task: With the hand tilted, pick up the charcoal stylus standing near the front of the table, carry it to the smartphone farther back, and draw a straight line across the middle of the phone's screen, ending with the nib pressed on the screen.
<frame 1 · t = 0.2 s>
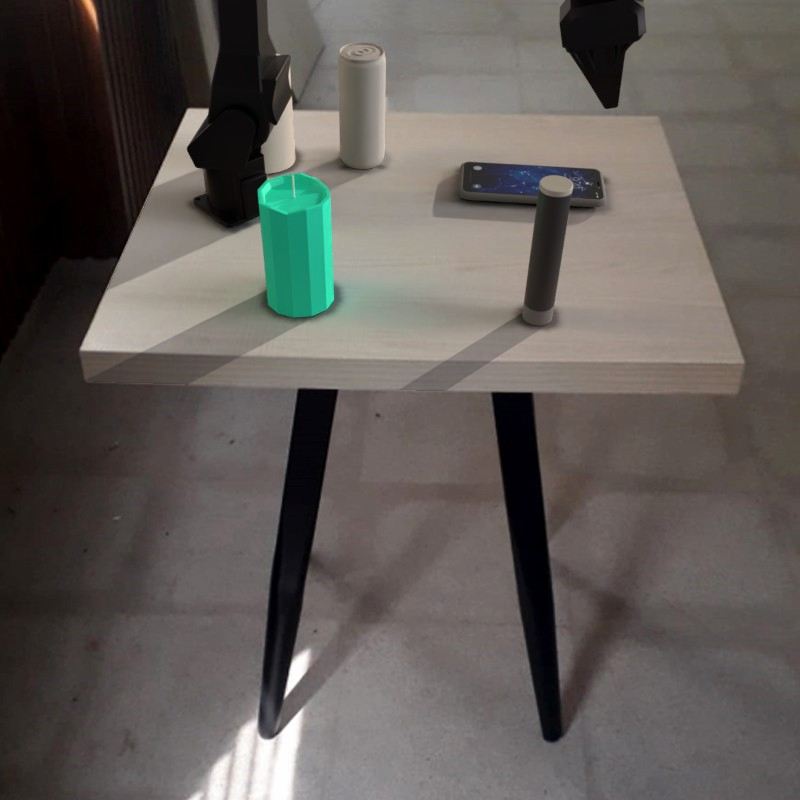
hand: (609, 84, 82), 15 cm above the table, tool pointing down, fingers open, 9 cm apart
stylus: (537, 316, 83), on the table
beverage can: (362, 162, 103), on the table
candle 2: (266, 160, 103), on the table
smartphone: (530, 189, 99), on the table
candle: (300, 299, 85), on the table
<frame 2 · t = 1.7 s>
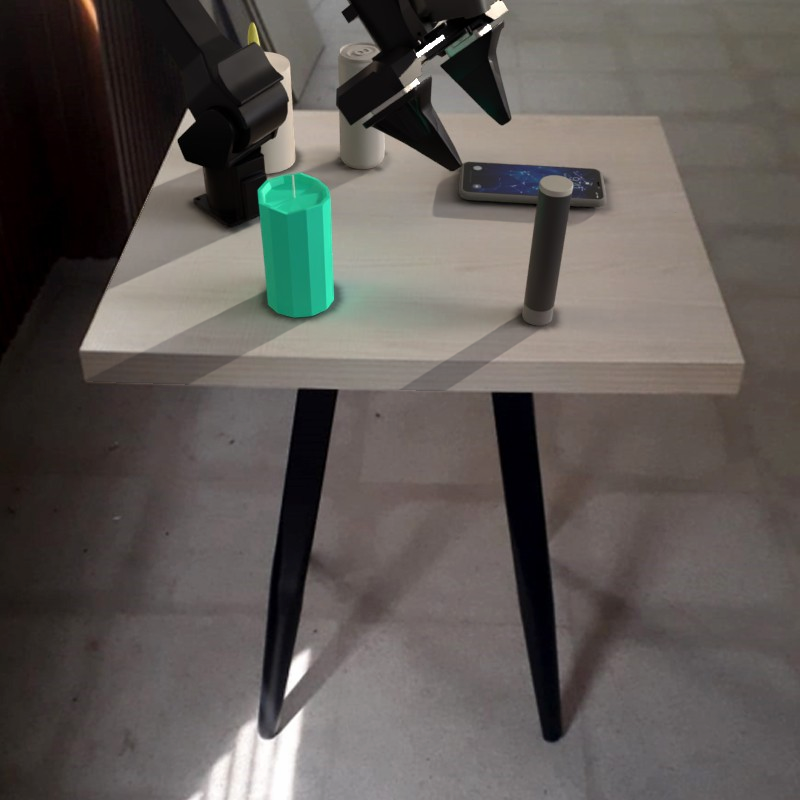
hand: (483, 145, 77), 14 cm above the table, tool tilted 40°, fingers open, 9 cm apart
nothing on the table moved.
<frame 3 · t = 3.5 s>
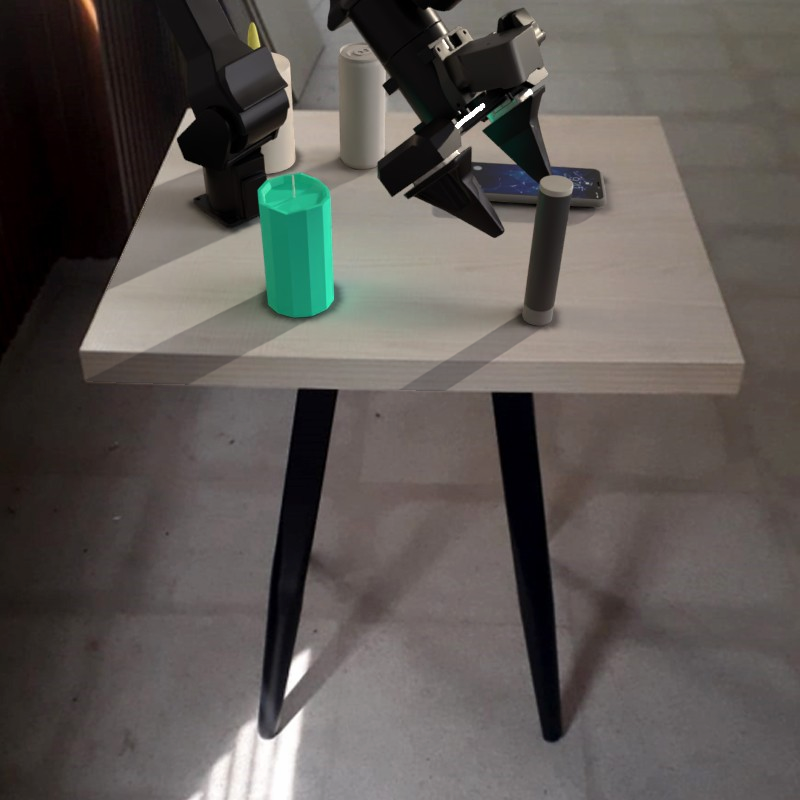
hand: (526, 209, 77), 10 cm above the table, tool tilted 45°, fingers open, 9 cm apart
nothing on the table moved.
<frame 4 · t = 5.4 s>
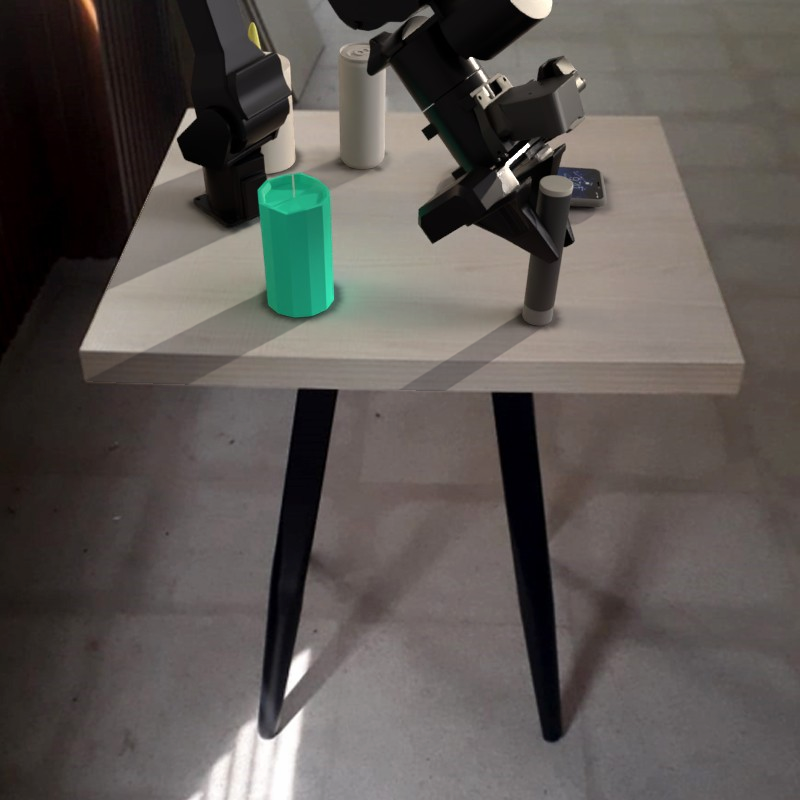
hand: (562, 253, 78), 7 cm above the table, tool tilted 45°, fingers closed on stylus, 2 cm apart
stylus: (537, 316, 83), on the table, touching gripper
everything else where it was.
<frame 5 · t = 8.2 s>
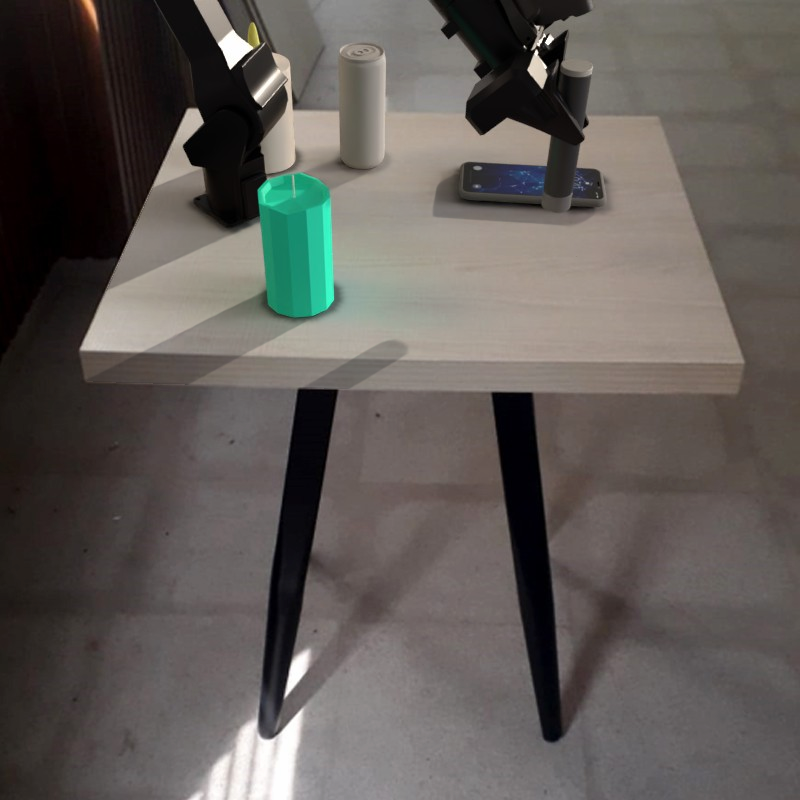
hand: (582, 134, 81), 13 cm above the table, tool tilted 45°, fingers closed on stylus, 2 cm apart
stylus: (555, 205, 86), point 6 cm above the table, touching gripper
everything else where it was.
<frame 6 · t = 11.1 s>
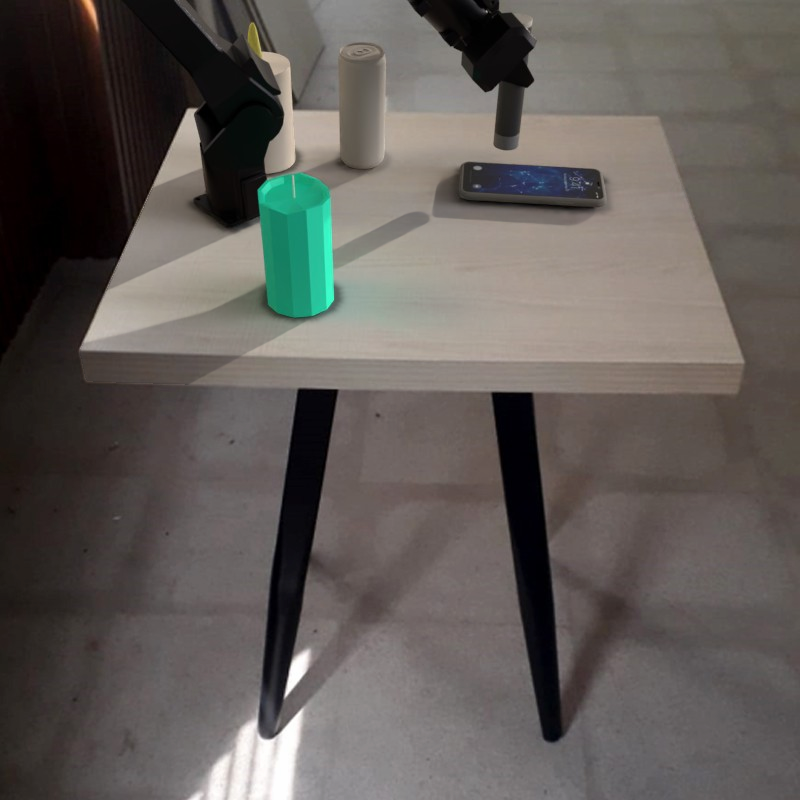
hand: (525, 77, 95), 11 cm above the table, tool tilted 45°, fingers closed on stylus, 2 cm apart
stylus: (505, 144, 99), point 3 cm above the table, touching gripper
everything else where it was.
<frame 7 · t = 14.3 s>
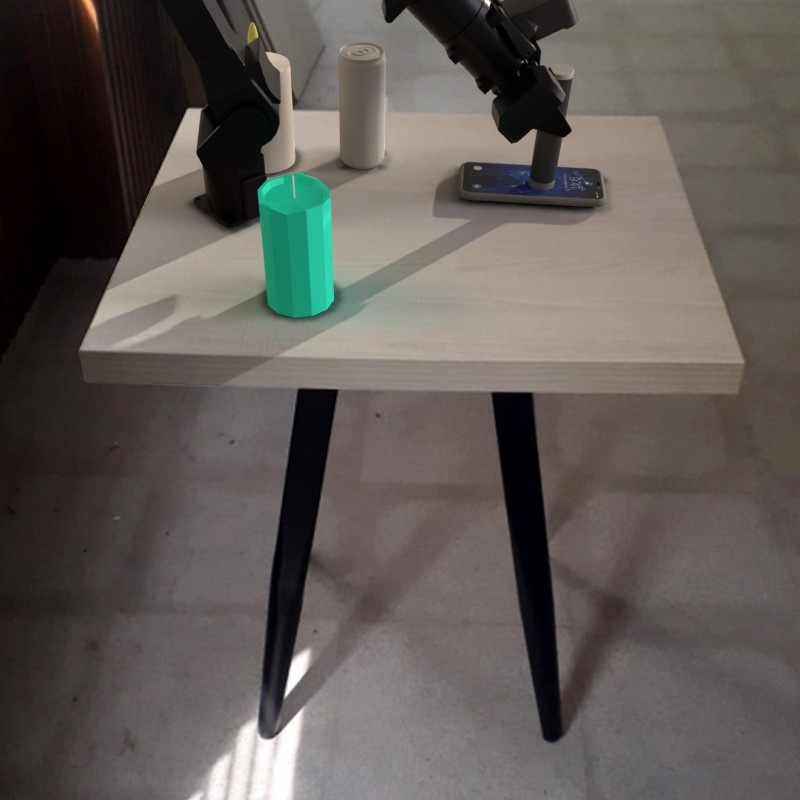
hand: (564, 127, 94), 7 cm above the table, tool tilted 45°, fingers closed on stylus, 2 cm apart
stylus: (540, 190, 99), resting on smartphone, touching gripper
everything else where it was.
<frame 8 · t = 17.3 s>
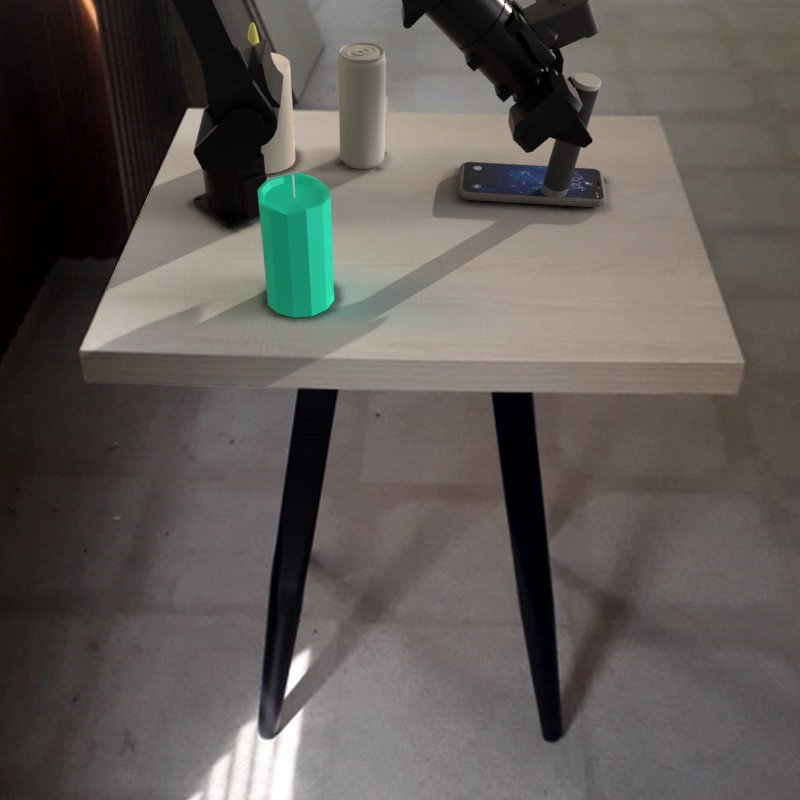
hand: (585, 137, 92), 7 cm above the table, tool tilted 45°, fingers closed on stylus, 2 cm apart
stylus: (552, 196, 97), resting on smartphone, tilted 8°, touching gripper
smartphone: (530, 189, 99), on the table, touching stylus
everything else where it was.
at the end: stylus touching gripper, smartphone; the gripper is holding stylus; smartphone moved 0.0 cm from its start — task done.
